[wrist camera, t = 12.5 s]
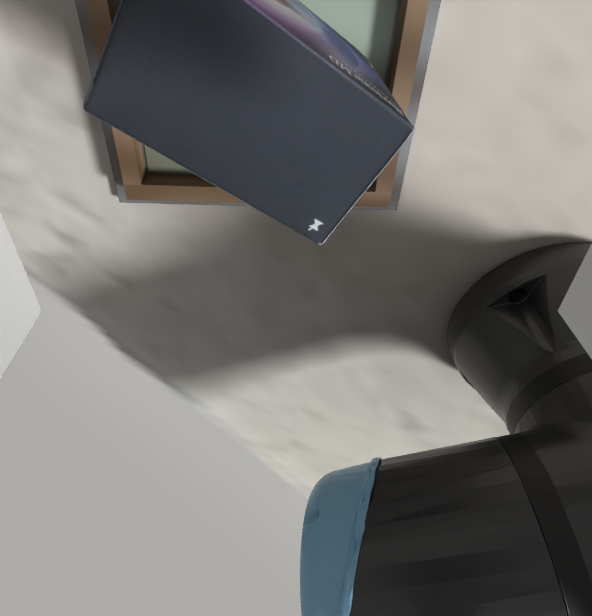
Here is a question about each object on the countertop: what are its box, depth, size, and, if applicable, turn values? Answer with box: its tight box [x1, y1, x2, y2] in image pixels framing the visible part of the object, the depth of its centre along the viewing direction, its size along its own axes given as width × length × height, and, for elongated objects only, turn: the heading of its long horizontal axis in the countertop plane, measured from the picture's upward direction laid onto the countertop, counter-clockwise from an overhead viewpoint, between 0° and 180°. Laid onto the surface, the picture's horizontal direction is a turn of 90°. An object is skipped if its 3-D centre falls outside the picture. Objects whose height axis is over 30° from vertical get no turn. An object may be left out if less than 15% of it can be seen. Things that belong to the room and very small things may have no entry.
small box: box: [84, 0, 414, 245], centre depth 20 cm, size 11×6×10 cm, turn 56°
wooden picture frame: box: [75, 0, 441, 210], centre depth 24 cm, size 18×18×2 cm
